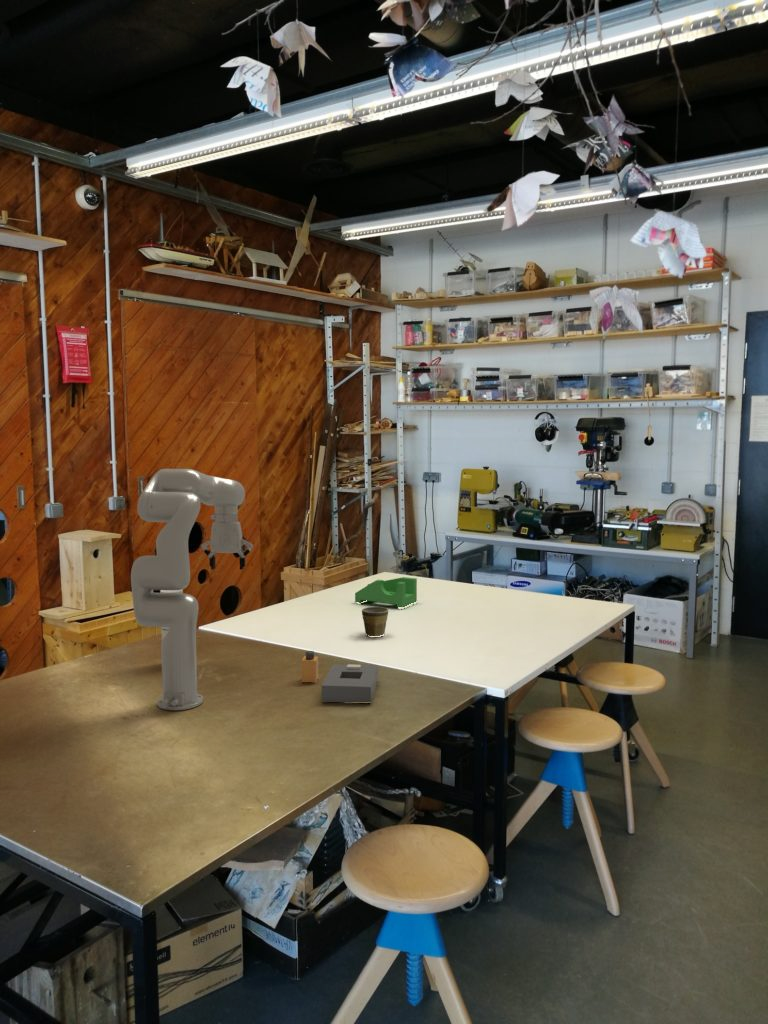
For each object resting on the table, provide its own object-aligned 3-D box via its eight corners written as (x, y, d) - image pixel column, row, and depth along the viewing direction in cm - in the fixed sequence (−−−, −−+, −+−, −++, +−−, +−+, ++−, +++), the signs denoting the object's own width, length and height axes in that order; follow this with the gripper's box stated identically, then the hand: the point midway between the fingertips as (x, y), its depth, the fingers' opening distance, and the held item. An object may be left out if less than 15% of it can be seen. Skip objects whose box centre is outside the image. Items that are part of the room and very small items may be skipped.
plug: (315, 683, 235) (315, 654, 234) (301, 682, 235) (301, 654, 234) (318, 678, 239) (318, 650, 238) (304, 678, 240) (304, 650, 239)
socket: (370, 704, 216) (370, 684, 216) (322, 702, 218) (321, 682, 217) (377, 681, 236) (377, 662, 236) (333, 679, 238) (332, 661, 237)
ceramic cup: (392, 637, 286) (392, 611, 285) (367, 640, 283) (367, 613, 281) (379, 629, 298) (379, 604, 297) (355, 631, 295) (355, 606, 293)
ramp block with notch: (416, 604, 342) (416, 578, 340) (402, 611, 330) (402, 583, 329) (370, 599, 353) (370, 573, 352) (355, 604, 342) (355, 578, 341)
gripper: (197, 519, 253) (199, 570, 254) (249, 519, 252) (250, 571, 254) (203, 517, 260) (205, 566, 262) (254, 517, 260) (255, 567, 261)
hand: (227, 568), depth 258 cm, fingers open, 9 cm apart
